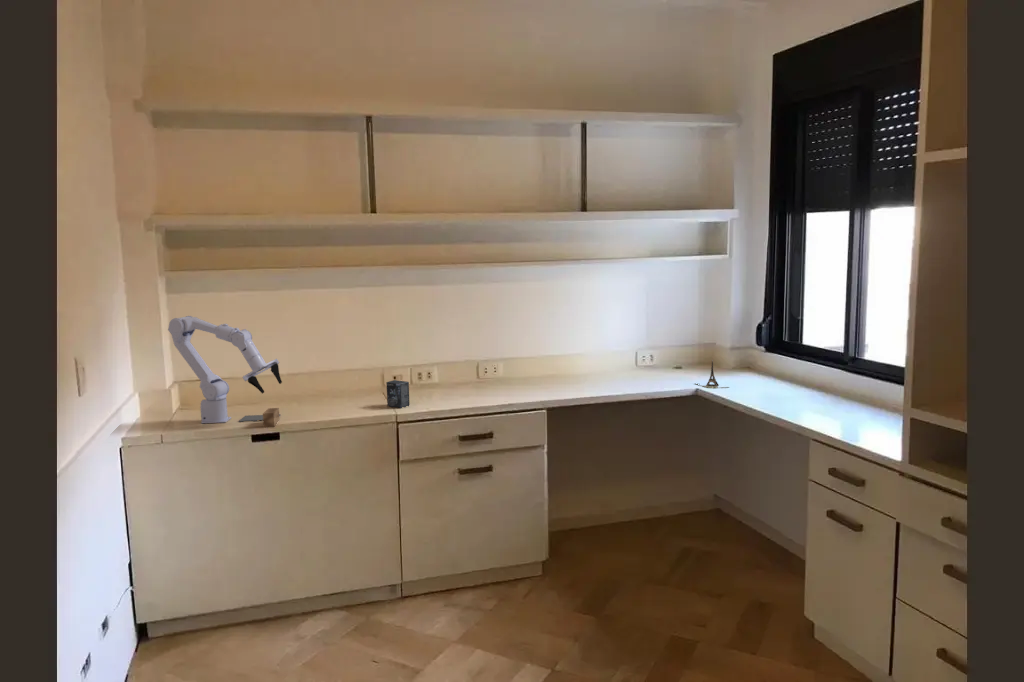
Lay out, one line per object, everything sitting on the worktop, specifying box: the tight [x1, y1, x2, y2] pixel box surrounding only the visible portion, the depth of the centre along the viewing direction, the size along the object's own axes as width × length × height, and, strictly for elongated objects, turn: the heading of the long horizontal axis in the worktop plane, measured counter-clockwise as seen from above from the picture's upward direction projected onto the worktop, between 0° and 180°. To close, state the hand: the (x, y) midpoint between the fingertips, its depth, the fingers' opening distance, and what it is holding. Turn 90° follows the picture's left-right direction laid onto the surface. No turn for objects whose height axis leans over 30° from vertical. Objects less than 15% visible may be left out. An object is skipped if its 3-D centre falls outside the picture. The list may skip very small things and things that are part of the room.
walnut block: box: [262, 407, 281, 428], centre depth 294 cm, size 4×9×6 cm, turn 4°
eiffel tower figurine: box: [695, 359, 728, 390], centre depth 348 cm, size 15×10×13 cm
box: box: [386, 379, 411, 409], centre depth 320 cm, size 8×6×11 cm
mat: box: [238, 413, 281, 423], centre depth 304 cm, size 14×9×1 cm, turn 94°
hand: (272, 388), depth 295 cm, fingers open, 7 cm apart
